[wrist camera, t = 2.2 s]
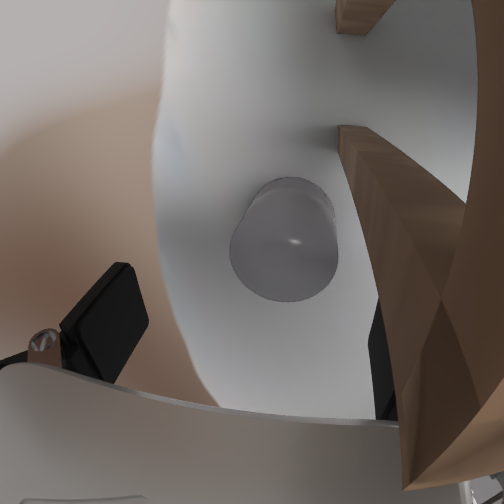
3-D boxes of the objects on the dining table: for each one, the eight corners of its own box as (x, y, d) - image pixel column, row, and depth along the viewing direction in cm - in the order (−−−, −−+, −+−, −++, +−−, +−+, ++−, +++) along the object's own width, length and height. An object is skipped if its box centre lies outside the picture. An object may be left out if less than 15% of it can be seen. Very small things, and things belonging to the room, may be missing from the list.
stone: (336, 179, 17) (342, 209, 13) (331, 257, 20) (332, 305, 16) (248, 176, 18) (225, 204, 14) (252, 252, 21) (233, 297, 17)
